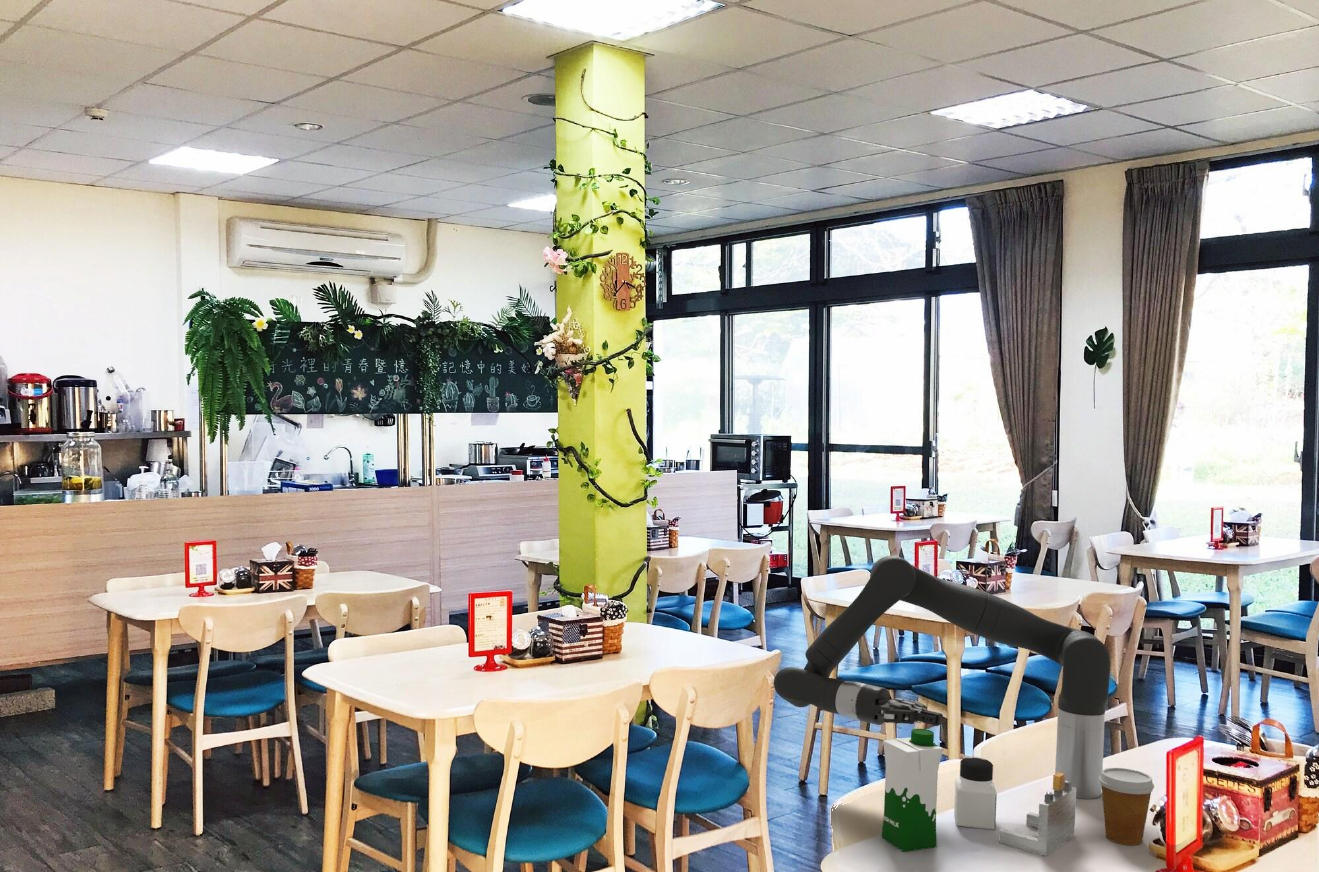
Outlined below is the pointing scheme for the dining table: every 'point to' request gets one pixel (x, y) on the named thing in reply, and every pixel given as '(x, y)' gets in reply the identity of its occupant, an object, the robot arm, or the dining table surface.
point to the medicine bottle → (975, 794)
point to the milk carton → (911, 791)
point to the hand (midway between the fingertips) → (941, 719)
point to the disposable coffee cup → (1125, 804)
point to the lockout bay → (1048, 820)
